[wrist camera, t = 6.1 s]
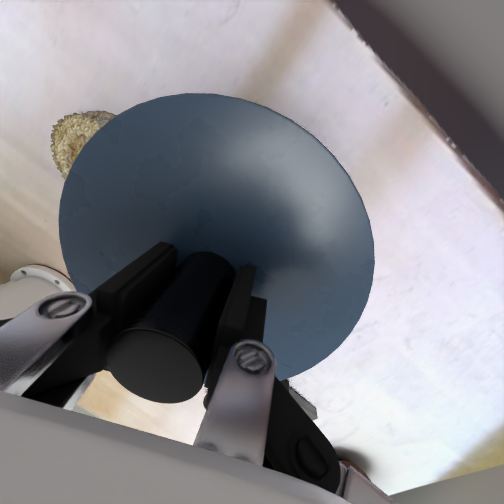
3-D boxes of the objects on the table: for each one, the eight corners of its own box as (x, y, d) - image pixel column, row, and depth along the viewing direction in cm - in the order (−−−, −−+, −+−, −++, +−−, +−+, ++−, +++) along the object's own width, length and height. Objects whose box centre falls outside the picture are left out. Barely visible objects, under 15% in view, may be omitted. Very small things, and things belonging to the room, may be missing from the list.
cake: (59, 123, 28) (9, 113, 23) (131, 102, 26) (94, 85, 21) (91, 206, 31) (53, 212, 26) (158, 191, 29) (131, 195, 24)
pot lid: (86, 335, 15) (-30, 443, 9) (62, 57, 9) (-291, -94, 3) (306, 396, 15) (320, 544, 9) (432, 151, 9) (690, 151, 3)
